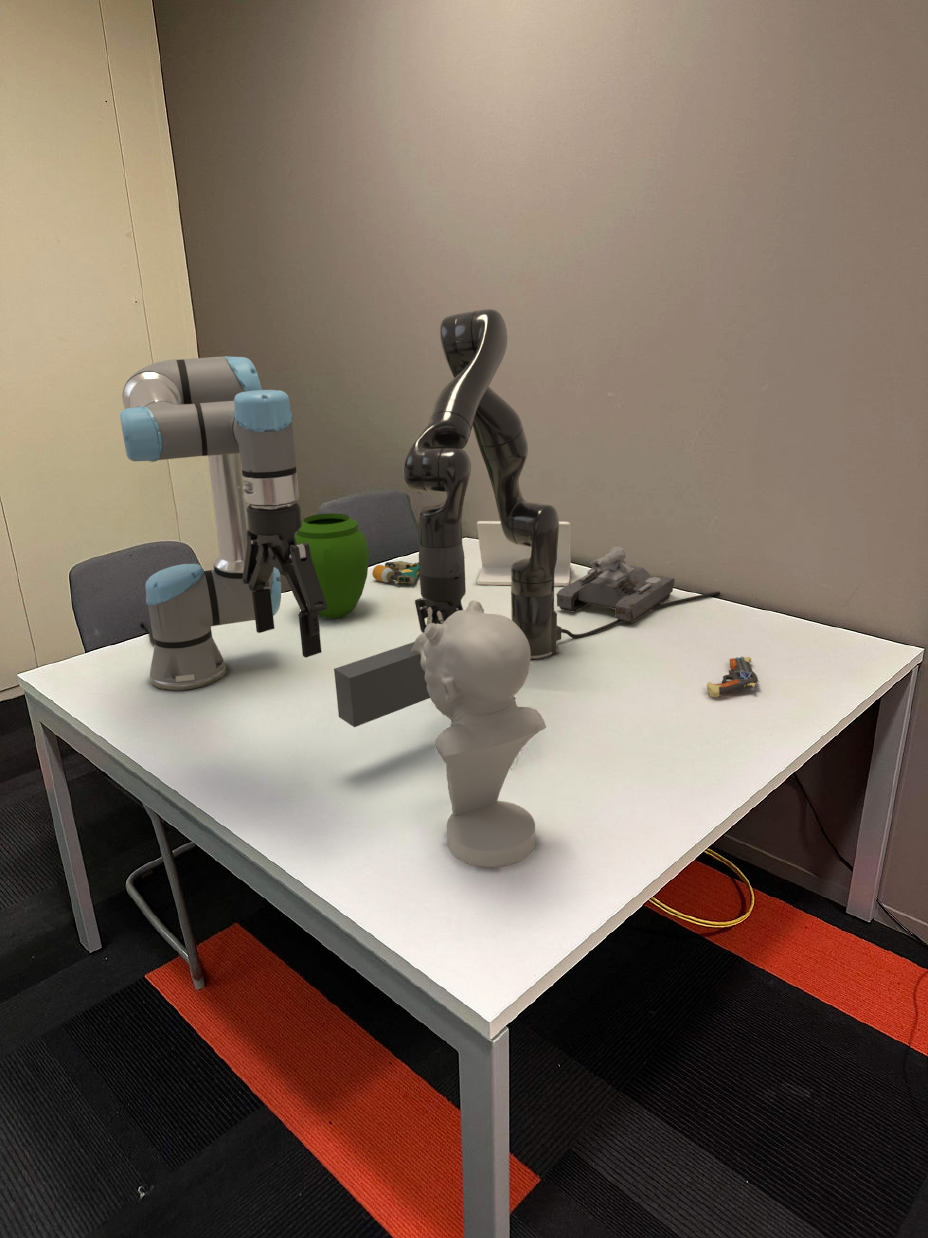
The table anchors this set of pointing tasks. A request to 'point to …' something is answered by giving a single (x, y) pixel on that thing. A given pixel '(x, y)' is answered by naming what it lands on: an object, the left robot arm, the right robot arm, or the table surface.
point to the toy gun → (735, 678)
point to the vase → (336, 560)
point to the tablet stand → (516, 554)
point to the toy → (616, 588)
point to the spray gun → (396, 572)
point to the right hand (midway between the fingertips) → (446, 662)
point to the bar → (380, 685)
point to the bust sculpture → (481, 729)
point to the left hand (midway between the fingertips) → (288, 642)
